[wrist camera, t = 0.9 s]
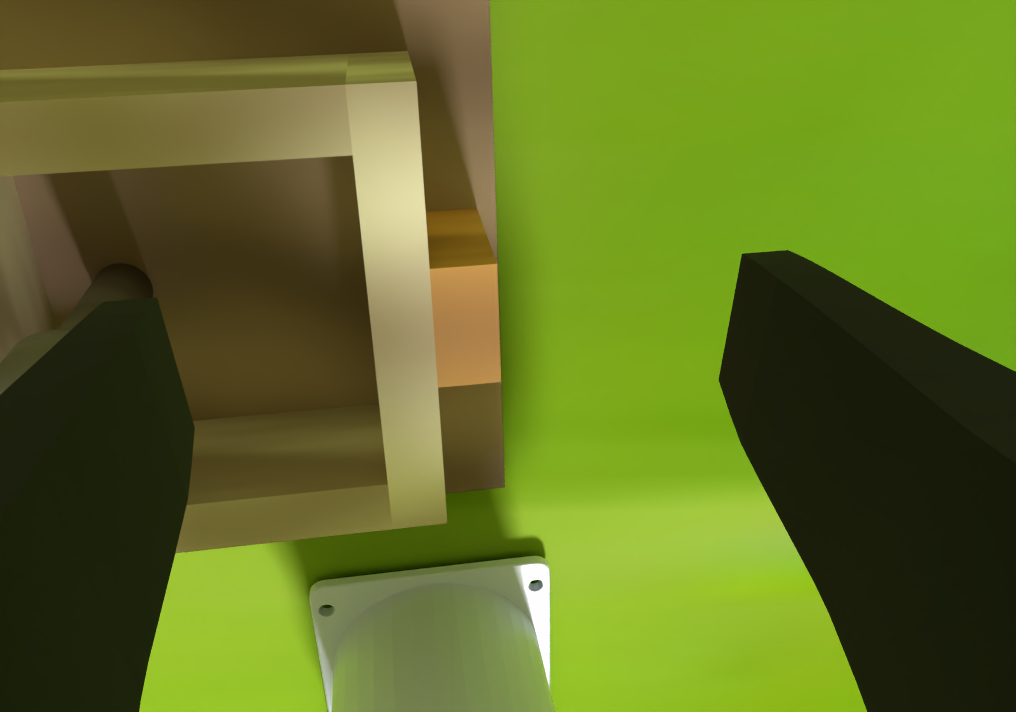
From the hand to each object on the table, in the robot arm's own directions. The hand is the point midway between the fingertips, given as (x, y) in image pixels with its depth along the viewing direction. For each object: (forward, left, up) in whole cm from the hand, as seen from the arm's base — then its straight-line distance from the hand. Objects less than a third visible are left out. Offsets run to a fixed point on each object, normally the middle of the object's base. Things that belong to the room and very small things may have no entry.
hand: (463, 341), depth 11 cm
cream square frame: (-4, +6, -12) cm, 14 cm away
